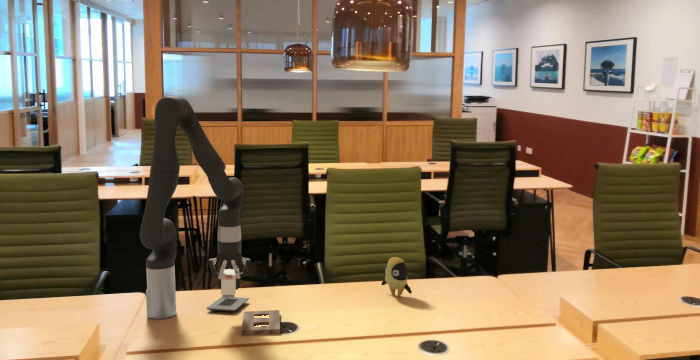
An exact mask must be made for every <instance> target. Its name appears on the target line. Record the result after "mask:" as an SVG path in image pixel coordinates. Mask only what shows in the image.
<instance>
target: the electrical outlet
mask: <svg viewBox="0 0 700 360" xmlns="http://www.w3.org/2000/svg"><path fill="white" fill-rule="evenodd" d="M249 299H250V298H249V297H239V296H238V297H236V296H234V298H223V295H221V297H219V298H218V299H217V300H215V301H213V302H212V303H211V304H210V305H208V306H207V307H206V309H207V311H208V310H209V311H216V312H217V311H218V312H236V311H237V310H238V309H239V308H240V307H242V306H243V305H244V304H245V303H247V302H248V300H249Z"/></svg>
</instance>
